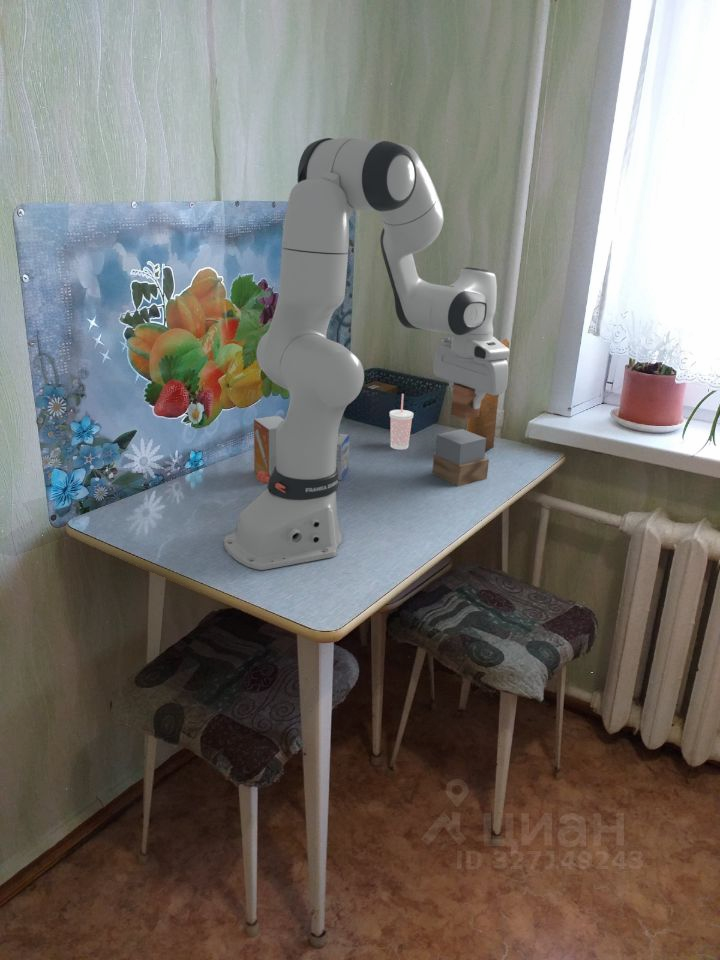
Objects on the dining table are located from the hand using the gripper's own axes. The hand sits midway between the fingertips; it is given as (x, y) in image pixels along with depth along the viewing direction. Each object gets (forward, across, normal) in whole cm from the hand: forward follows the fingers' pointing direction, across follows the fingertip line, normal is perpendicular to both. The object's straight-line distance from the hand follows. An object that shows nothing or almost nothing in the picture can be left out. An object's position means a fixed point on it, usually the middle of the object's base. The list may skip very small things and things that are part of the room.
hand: (465, 404), depth 172 cm
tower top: (+13, 0, 0) cm, 13 cm away
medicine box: (+18, -16, -24) cm, 34 cm away
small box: (+17, -22, -37) cm, 47 cm away
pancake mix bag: (+18, -10, +17) cm, 26 cm away
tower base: (+18, 0, 0) cm, 18 cm away
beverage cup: (+18, -23, +1) cm, 29 cm away
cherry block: (+3, 0, 0) cm, 3 cm away
